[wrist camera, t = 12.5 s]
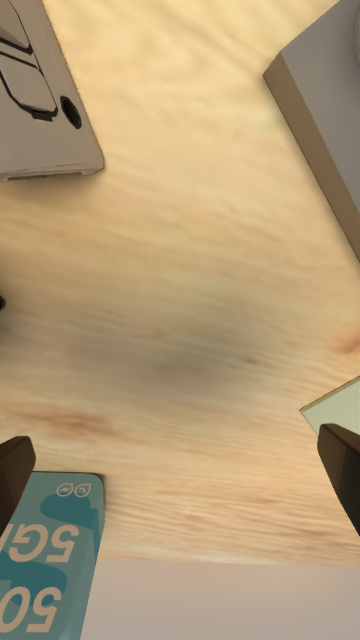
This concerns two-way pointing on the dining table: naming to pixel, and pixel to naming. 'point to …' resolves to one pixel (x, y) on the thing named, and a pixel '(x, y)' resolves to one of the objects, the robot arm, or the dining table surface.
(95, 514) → the data package
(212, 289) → the dining table surface
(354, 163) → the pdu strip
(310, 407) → the coaster
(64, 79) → the electrical switch
